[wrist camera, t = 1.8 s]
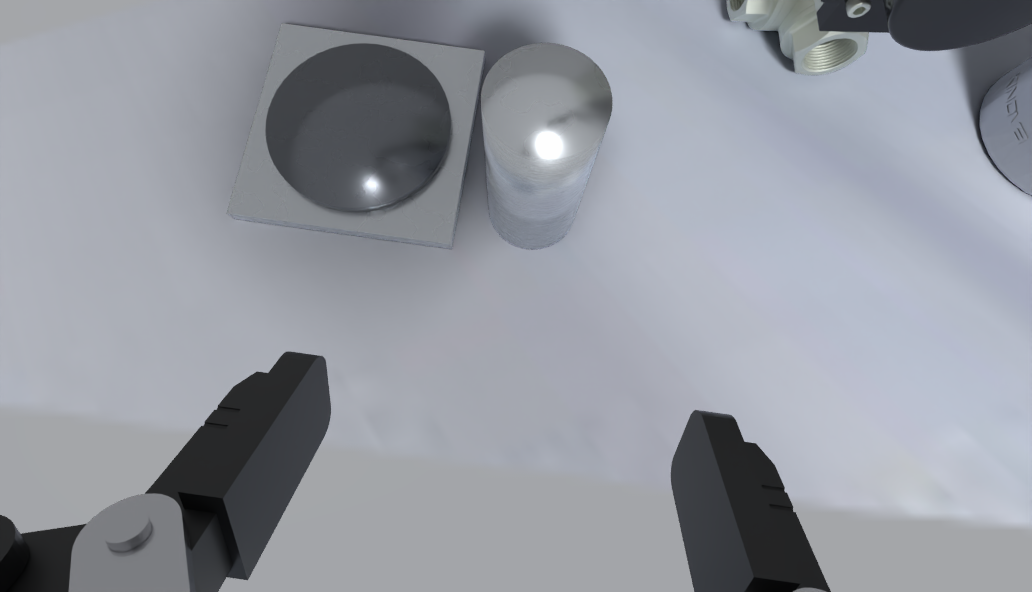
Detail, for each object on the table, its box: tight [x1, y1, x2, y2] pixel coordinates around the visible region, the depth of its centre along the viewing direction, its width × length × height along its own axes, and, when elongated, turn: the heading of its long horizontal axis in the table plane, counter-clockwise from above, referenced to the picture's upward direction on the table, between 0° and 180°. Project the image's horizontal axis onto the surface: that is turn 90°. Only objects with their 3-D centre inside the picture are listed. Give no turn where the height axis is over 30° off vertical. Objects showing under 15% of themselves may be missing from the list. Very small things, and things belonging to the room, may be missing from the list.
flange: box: [227, 23, 485, 249], centre depth 28 cm, size 12×12×1 cm
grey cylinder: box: [481, 43, 612, 250], centre depth 23 cm, size 5×5×10 cm
